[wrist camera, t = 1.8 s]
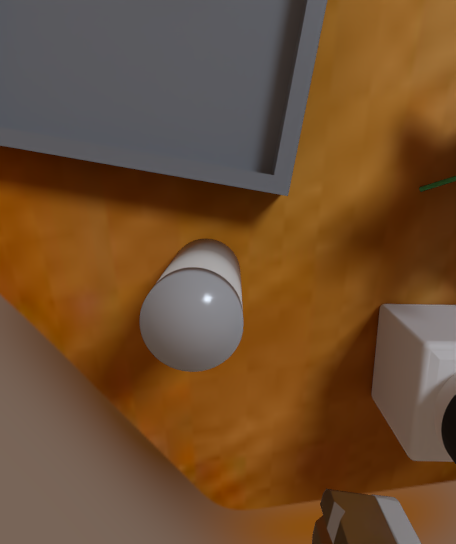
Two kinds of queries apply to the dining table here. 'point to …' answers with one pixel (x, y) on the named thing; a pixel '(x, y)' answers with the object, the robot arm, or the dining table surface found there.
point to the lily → (438, 183)
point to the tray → (161, 84)
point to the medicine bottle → (418, 378)
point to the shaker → (195, 308)
